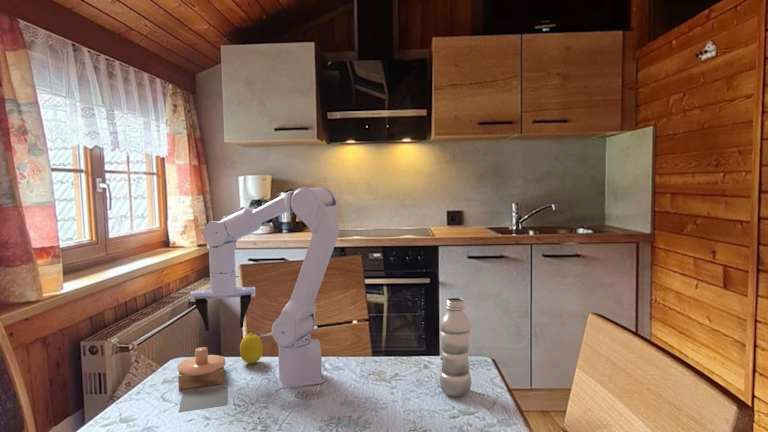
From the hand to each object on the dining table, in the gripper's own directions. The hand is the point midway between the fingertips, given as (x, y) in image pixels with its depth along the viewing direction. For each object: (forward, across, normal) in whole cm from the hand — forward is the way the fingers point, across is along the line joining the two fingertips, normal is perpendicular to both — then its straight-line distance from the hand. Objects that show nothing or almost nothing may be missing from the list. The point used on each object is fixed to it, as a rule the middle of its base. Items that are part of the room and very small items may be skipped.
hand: (224, 328), depth 109 cm
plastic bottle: (+11, -46, +29) cm, 55 cm away
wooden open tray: (+10, +5, +4) cm, 12 cm away
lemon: (+11, -6, -2) cm, 12 cm away
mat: (+10, +4, +14) cm, 18 cm away
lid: (+7, +5, +4) cm, 10 cm away
